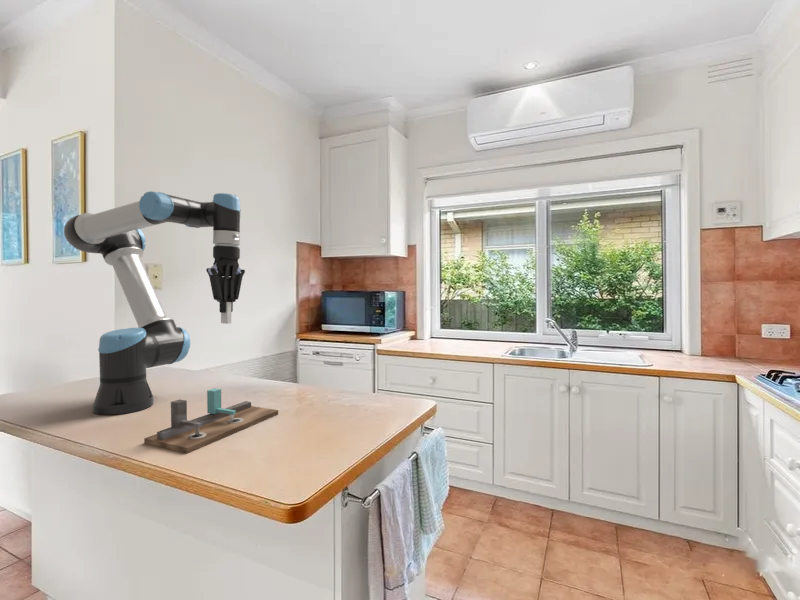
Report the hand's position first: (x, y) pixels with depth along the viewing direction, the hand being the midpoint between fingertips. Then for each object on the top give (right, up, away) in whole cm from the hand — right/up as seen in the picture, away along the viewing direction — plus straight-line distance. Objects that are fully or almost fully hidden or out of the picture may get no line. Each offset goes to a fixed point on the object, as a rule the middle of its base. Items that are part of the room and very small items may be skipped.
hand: (226, 323), depth 127 cm
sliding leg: (+7, -24, -18) cm, 31 cm away
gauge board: (+6, -26, -20) cm, 33 cm away
